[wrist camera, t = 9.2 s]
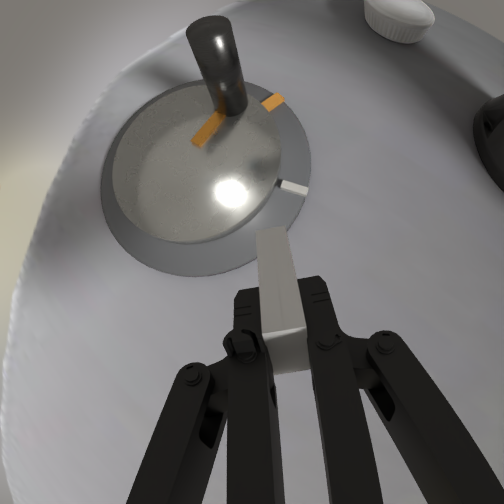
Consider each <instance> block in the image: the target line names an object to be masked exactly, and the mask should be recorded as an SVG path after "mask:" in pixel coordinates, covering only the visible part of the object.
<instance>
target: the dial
mask: <svg viewBox="0 0 504 504" xmlns="http://www.w3.org/2000/svg"><path fill="white" fill-rule="evenodd" d="M186 36H187V39H188V41H189V44H190V46H191V49H192V51H193V54H194V56H195V59H196V61H197V64H198V66H199V69H200V71H201V74H202V76H203V79H204V82H205V84H206V85H198V86H192V87H187V88H183V89H180V90H177V91H175V92H172V93H170V94H168V95H166V96H164V97H162V98H160V99H159V100H157V101H156V102H154V103H153V104H151V105H150V106H149V107H147V108H146V109H145V110H144V111H143V112H142V113H141V114H140V115H139V116H138V117H137V118H136V119H135V120H134V121H133V122H132V124H131V125H130V126H129V128H128V129H127V131H126V132H125V134H124V135H123V137H122V139H121V141H120V143H119V146H118V148H117V151H116V154H115V158H114V163H113V172H112V180H113V188H114V193H115V196H116V199H117V202H118V204H119V206H120V208H121V210H122V211H123V213H124V214H125V215H126V217H127V218H128V219H129V220H130V221H131V222H132V223H133V224H134V225H135V226H137V227H138V228H140V229H141V230H143V231H144V232H146V233H148V234H150V235H152V236H154V237H156V238H158V239H160V240H163V241H166V242H170V243H175V244H182V245H195V244H202V243H208V242H211V241H215V240H218V239H221V238H223V237H226V236H228V235H230V234H232V233H234V232H235V231H237V230H239V229H240V228H242V227H243V226H244V225H246V224H247V223H249V222H250V221H251V220H252V219H253V218H254V217H255V216H256V215H257V214H258V213H259V212H260V211H261V210H262V208H263V207H264V206H265V205H266V203H267V202H268V200H269V198H270V197H271V195H272V193H273V191H274V189H275V187H276V185H277V181H278V178H279V175H280V169H281V142H280V136H279V132H278V129H277V126H276V123H275V121H274V120H273V118H272V116H271V114H270V113H269V112H268V110H267V109H266V108H265V107H264V106H263V105H262V104H261V103H260V102H259V101H258V100H256V99H255V98H254V97H252V96H251V95H249V94H247V92H246V88H245V83H244V79H243V74H242V70H241V65H240V61H239V57H238V52H237V48H236V44H235V39H234V35H233V31H232V27H231V23H230V21H229V19H227V18H226V17H223V16H207V17H203V18H201V19H198V20H196V21H195V22H193V23H192V24H191V25H190V26H189V27H188V28H187V30H186Z"/></svg>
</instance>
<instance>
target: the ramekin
mask: <svg viewBox="0 0 504 504" xmlns="http://www.w3.org/2000/svg"><path fill="white" fill-rule="evenodd" d="M364 11H365V19H366V21H367V23H368V24H369V26H370V27H371V28H372V29H373V30H374V31H375V32H377V33H378V34H379V35H381V36H383V37H385V38H387V39H389V40H392V41H395V42H399V43H405V44H409V43H415V42H418V41H420V40H421V39H422V38H423V37H424V35H425V34H426V32H427V31H428V29H429V28H430V27H431V26H432V25H433V23H434V20H435V18H434V14H433V12H432V10H431V9H430V8H429V7H428V6H427V5H426V4H425V3H424V2H422V1H421V0H364Z"/></svg>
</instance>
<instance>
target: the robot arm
mask: <svg viewBox="0 0 504 504" xmlns="http://www.w3.org/2000/svg"><path fill="white" fill-rule="evenodd" d="M473 131H474V138H475V142H476V146H477V149H478V152H479V154H480V157H481V159H482V161H483V163H484V165H485V167H486V168H487V170H488V172H489V173H490V175H491V176H492V178H493V179H494V181H495V182H496V183H497V184H498V185H499V187H500V188H501V189H502V190H503V191H504V94H503V95H501V96H499V97H496V98H494V99H492V100H489V101H488V102H486V103H485V104H484V105H483V106H482V108H481V109H480V110H479V111H478V112H477V114H476V116H475V119H474V124H473ZM256 246H257V262H258V278H259V287H255V288H249V289H243V290H239V291H238V293H237V295H236V297H235V298H234V325H233V330H232V331H230V332H229V333H228V334H227V335H226V336H225V337H224V340H223V346H224V348H225V350H226V352H227V356H226V357H225V358H224V359H223V360H221V361H219V362H217V363H214V364H211V365H209V366H206V365H205V364H202V363H199V362H195V363H190V364H187V365H185V366H184V367H182V368H181V369H180V370H179V372H178V374H177V375H176V378H175V380H174V383H173V385H172V388H171V390H170V392H169V395H168V397H167V400H166V402H165V405H164V407H163V410H162V412H161V415H160V417H159V420H158V422H157V425H156V427H155V430H154V432H153V435H152V437H151V440H150V442H149V445H148V448H147V450H146V453H145V455H144V458H143V460H142V463H141V465H140V468H139V471H138V473H137V476H136V478H135V481H134V484H133V486H132V489H131V492H130V494H129V497H128V500H127V502H126V504H202V501H203V497H204V494H205V491H206V488H207V484H208V481H209V478H210V474H211V471H212V468H213V464H214V461H215V458H216V454H217V451H218V448H219V444H220V441H221V437H222V434H223V431H224V427H225V424H226V420H227V504H285V496H284V482H283V469H282V456H281V444H280V431H279V419H278V407H277V395H276V386H275V383H274V376H273V373H274V375H278V374H284V373H291V372H297V371H303V370H308V369H311V374H312V383H313V390H314V395H315V401H316V408H317V414H318V421H319V428H320V434H321V441H322V449H323V456H324V463H325V471H326V478H327V486H328V494H329V503H330V504H383V499H382V493H381V488H380V482H379V477H378V472H377V467H376V462H375V457H374V452H373V448H372V443H371V438H370V434H369V429H368V425H367V421H366V417H365V412H364V408H363V404H362V400H361V396H360V392H359V389H364V391H365V393H366V394H367V396H368V398H369V400H370V401H371V403H372V405H373V406H374V408H375V410H376V412H377V413H378V415H379V417H380V419H381V420H382V422H383V424H384V426H385V427H386V429H387V431H388V433H389V434H390V436H391V438H392V440H393V441H394V443H395V445H396V447H397V448H398V450H399V452H400V454H401V456H402V457H403V459H404V461H405V463H406V465H407V466H408V468H409V470H410V472H411V474H412V475H413V477H414V479H415V481H416V483H417V484H418V486H419V488H420V490H421V492H422V494H423V496H424V497H425V499H426V501H427V503H428V504H504V489H503V487H502V485H501V484H500V482H499V480H498V479H497V477H496V475H495V474H494V472H493V470H492V469H491V467H490V465H489V464H488V462H487V460H486V459H485V457H484V456H483V454H482V452H481V451H480V449H479V448H478V446H477V444H476V443H475V441H474V440H473V438H472V437H471V435H470V434H469V432H468V431H467V429H466V428H465V426H464V425H463V423H462V422H461V420H460V419H459V417H458V416H457V414H456V413H455V411H454V410H453V408H452V407H451V405H450V404H449V403H448V401H447V400H446V398H445V397H444V395H443V394H442V393H441V391H440V390H439V388H438V387H437V385H436V384H435V383H434V381H433V380H432V379H431V377H430V376H429V374H428V373H427V372H426V370H425V369H424V368H423V366H422V365H421V363H420V362H419V361H418V359H417V358H416V357H415V355H414V354H413V353H412V351H411V350H410V349H409V347H408V346H407V345H406V344H405V342H404V341H403V340H402V338H401V337H400V336H399V335H398V334H396V333H394V332H392V331H384V330H383V331H379V332H376V333H375V334H373V335H372V336H371V337H370V338H369V339H364V338H354V337H351V336H348V335H346V334H345V333H344V332H343V331H342V330H341V329H340V327H339V325H338V321H337V318H336V314H335V311H334V308H333V304H332V301H331V298H330V294H329V291H328V288H327V285H326V282H325V281H324V280H323V279H322V278H321V277H320V276H319V275H318V276H313V277H308V278H302V279H297V278H296V273H295V268H294V264H293V259H292V254H291V250H290V245H289V241H288V236H287V232H286V227H285V226H280V227H274V228H269V229H264V230H258V231H256Z"/></svg>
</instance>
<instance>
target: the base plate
mask: <svg viewBox="0 0 504 504" xmlns="http://www.w3.org/2000/svg"><path fill="white" fill-rule="evenodd" d="M244 83H245V88H246V92H247V94H249V95H251V96H252V97H254V98H255V99H256V100H258V101H259V102H260V103H261V104H262V105H263V106H264V107H265V108H266V109H267V110H268V112H269V113H270V114H271V116H272V118H273V120H274V121H275V123H276V126H277V129H278V132H279V136H280V142H281V169H280V175H279V178H278V181H277V185H276V187H275V189H274V191H273V193H272V195H271V197H270V198H269V200H268V202H267V203H266V205H265V206H264V207H263V208H262V210H261V211H260V212H259V213H258V214H257V215H256V216H255V217H254V218H253V219H252V220H251V221H250V222H249V223H247V224H246V225H244V226H243V227H242V228H240V229H239V230H237V231H235V232H234V233H232V234H230V235H228V236H226V237H223V238H221V239H218V240H215V241H211V242H208V243H202V244H195V245H182V244H175V243H170V242H166V241H163V240H160V239H158V238H156V237H154V236H152V235H150V234H148V233H146V232H144V231H143V230H141V229H140V228H138V227H137V226H135V225H134V224H133V223H132V222H131V221H130V220H129V219H128V218H127V217H126V215H125V214H124V213H123V211H122V210H121V208H120V206H119V204H118V202H117V199H116V196H115V193H114V188H113V180H112V172H113V163H114V158H115V154H116V151H117V148H118V146H119V143H120V141H121V139H122V137H123V135H124V134H125V132H126V131H127V129H128V128H129V126H130V125H131V124H132V122H133V121H134V120H135V119H136V118H137V117H138V116H139V115H140V114H141V113H142V112H143V111H144V110H145V109H146V108H147V107H149V106H150V105H151V104H153V103H154V102H156V101H157V100H159V99H160V98H162V97H164V96H166V95H168V94H170V93H172V92H175V91H177V90H180V89H183V88H187V87H192V86H198V85H206V84H205V82H204V79H203V80H198V81H193V82H189V83H186V84H182V85H179V86H177V87H174V88H172V89H170V90H168V91H166V92H164V93H162V94H160V95H158V96H157V97H155V98H154V99H152V100H151V101H149V102H148V103H146V104H145V105H144V106H143V107H142V108H140V109H139V110H138V111H137V112H136V113H135V114H134V115H133V116H132V117H131V118H130V119H129V120H128V122H127V123H126V124H125V125H124V127H123V128H122V129H121V131H120V132H119V134H118V135H117V137H116V138H115V140H114V142H113V144H112V146H111V148H110V150H109V153H108V156H107V158H106V161H105V165H104V169H103V173H102V181H101V200H102V207H103V212H104V215H105V218H106V222H107V224H108V226H109V228H110V230H111V232H112V234H113V235H114V237H115V238H116V240H117V241H118V243H119V244H120V245H121V246H122V247H123V248H124V249H125V251H126V252H127V253H129V254H130V255H131V256H132V257H134V258H135V259H136V260H138V261H139V262H141V263H143V264H145V265H146V266H148V267H150V268H153V269H156V270H158V271H161V272H164V273H168V274H173V275H178V276H187V277H201V276H212V275H216V274H221V273H225V272H228V271H231V270H234V269H237V268H239V267H241V266H243V265H245V264H247V263H249V262H251V261H253V260H255V259H256V258H257V246H256V231H258V230H264V229H269V228H274V227H280V226H285V227H286V232H287V231H288V229H289V228H290V227H291V225H292V224H293V222H294V220H295V219H296V217H297V216H298V214H299V212H300V210H301V207H302V205H303V203H304V200H305V197H306V196H307V193H308V189H309V188H308V186H309V179H310V172H311V155H310V148H309V143H308V140H307V137H306V134H305V131H304V129H303V127H302V125H301V123H300V121H299V119H298V118H297V117H296V115H295V114H294V112H293V111H292V110H291V109H290V108H289V107H288V106H287V105H286V104H285V103H284V97H282V96H281V95H280V94H279V93H275V94H273V93H271V92H269V91H268V90H266V89H264V88H262V87H259V86H257V85H254V84H252V83H248V82H245V81H244Z"/></svg>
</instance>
